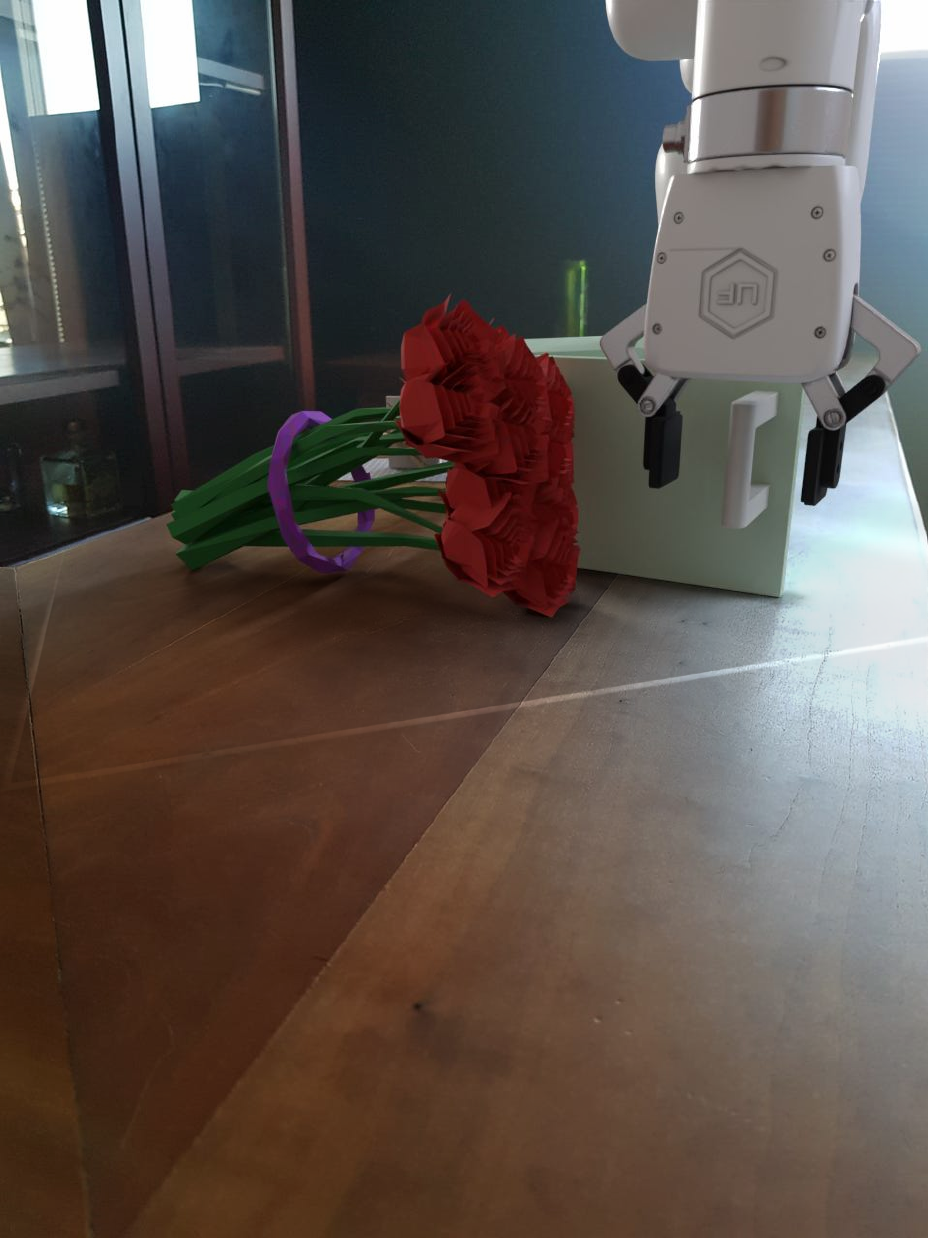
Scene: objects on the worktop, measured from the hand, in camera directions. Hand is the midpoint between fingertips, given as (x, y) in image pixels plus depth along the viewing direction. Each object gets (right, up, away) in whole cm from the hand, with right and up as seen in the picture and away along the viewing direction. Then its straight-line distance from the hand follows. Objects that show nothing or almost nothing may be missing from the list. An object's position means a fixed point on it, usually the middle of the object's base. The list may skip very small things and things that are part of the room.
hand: (735, 490), depth 53 cm
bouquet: (-22, -5, +12) cm, 26 cm away
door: (-4, -5, +9) cm, 11 cm away
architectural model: (-20, +8, +47) cm, 52 cm away
